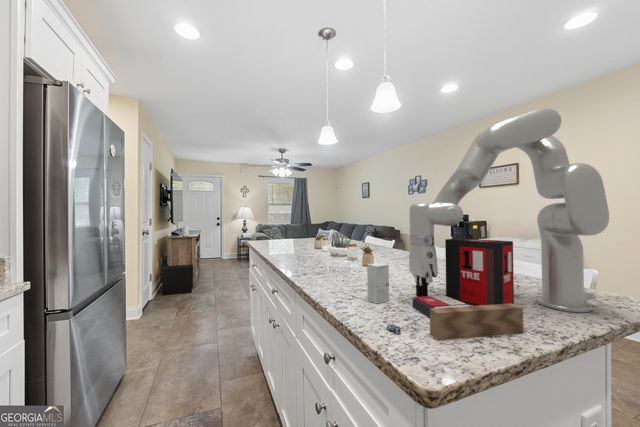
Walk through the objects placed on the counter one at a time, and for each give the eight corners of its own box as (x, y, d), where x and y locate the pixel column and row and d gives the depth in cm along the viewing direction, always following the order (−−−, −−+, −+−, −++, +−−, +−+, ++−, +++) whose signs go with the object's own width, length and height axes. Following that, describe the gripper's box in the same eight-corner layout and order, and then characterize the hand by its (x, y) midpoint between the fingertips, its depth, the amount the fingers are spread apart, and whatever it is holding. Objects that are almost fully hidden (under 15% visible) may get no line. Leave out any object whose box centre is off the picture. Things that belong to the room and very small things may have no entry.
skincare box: (376, 304, 83) (376, 266, 83) (366, 300, 87) (366, 264, 87) (390, 300, 86) (389, 264, 87) (379, 297, 90) (379, 262, 90)
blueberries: (401, 326, 69) (401, 318, 69) (417, 337, 61) (417, 328, 61) (377, 328, 68) (376, 320, 68) (390, 339, 60) (389, 331, 60)
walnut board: (512, 327, 65) (511, 303, 65) (523, 332, 62) (522, 307, 62) (430, 334, 62) (429, 308, 62) (437, 340, 59) (437, 313, 59)
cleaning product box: (446, 299, 88) (445, 239, 89) (458, 294, 94) (458, 238, 94) (502, 313, 75) (501, 243, 75) (513, 306, 80) (512, 241, 81)
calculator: (444, 293, 83) (480, 307, 68) (444, 307, 83) (481, 324, 68) (411, 295, 81) (441, 310, 66) (412, 310, 81) (442, 327, 66)
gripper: (446, 243, 79) (446, 304, 79) (420, 239, 94) (420, 290, 94) (423, 243, 78) (423, 305, 78) (400, 239, 93) (400, 291, 93)
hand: (421, 297), depth 86 cm, fingers closed
